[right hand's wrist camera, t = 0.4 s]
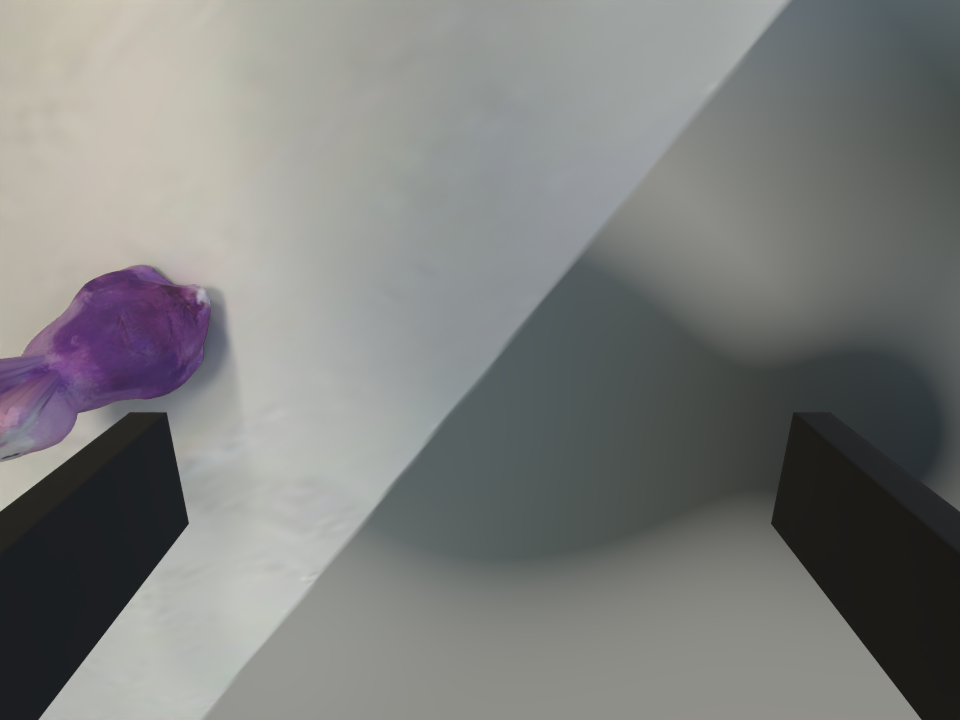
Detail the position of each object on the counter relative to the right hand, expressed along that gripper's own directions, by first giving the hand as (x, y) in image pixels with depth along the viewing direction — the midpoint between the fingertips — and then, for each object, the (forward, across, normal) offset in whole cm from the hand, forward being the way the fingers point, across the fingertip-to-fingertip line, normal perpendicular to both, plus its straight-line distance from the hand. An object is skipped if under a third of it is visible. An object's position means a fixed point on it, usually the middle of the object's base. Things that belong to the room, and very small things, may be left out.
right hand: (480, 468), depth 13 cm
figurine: (+28, -23, -6) cm, 36 cm away
